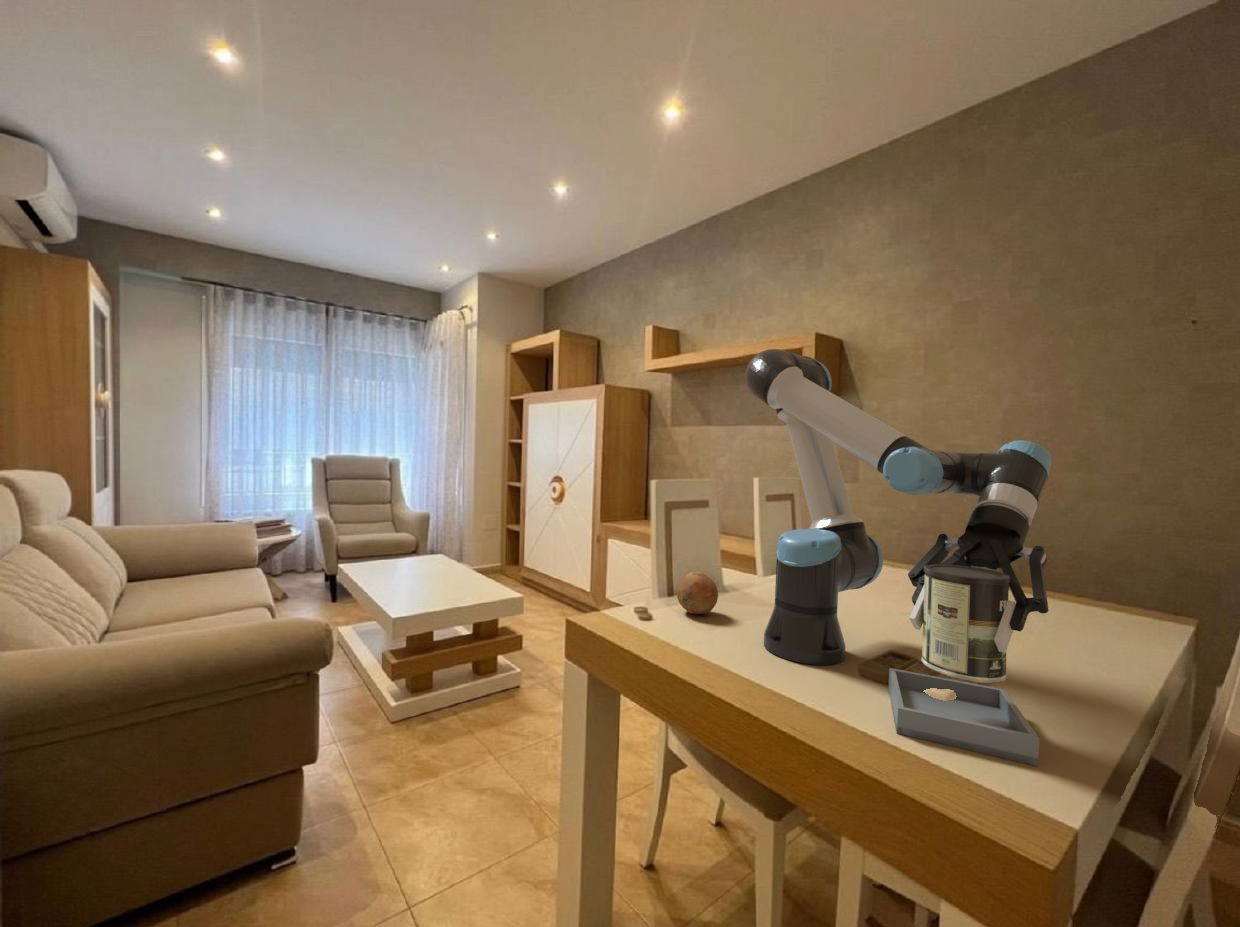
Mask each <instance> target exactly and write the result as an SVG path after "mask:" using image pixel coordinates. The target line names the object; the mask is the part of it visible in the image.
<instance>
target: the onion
mask: <svg viewBox="0 0 1240 927" xmlns="http://www.w3.org/2000/svg"><path fill="white" fill-rule="evenodd" d="M676 597H677V600H678V601H677V602H678V603H679V604H680V606H681V607H682V608H683V609H684V610H685V611H686V612H688V613H690V614H692V615H704V614H708V613H710V612H711V611H712V610H713V609H714V608H715V606H716V604H717V603H718V599H719V590H718V587H717V585H716V583H715V582H714V580H713V579H712V578H711V577H710V576H709V575H707V574H706V573H704V572H701V571H691V572H688V573H686V574H685V575H684V576H683V577H682V579H681V580H680V582H679V584H678V586H677V591H676Z"/></svg>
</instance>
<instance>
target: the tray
mask: <svg viewBox="0 0 1240 927" xmlns="http://www.w3.org/2000/svg"><path fill="white" fill-rule="evenodd" d="M930 688H937V689H950V690H954V692H955V693H956V696H957V697H956V699H954V700H948V701H943V700H939V699H936V698H933V697H931V696H929V695H928V694H926V693H925V692H923V691H924V690H926V689H930ZM887 689H888V694H889V699H890V705H891V711H892V715H893V716H892V717H893V721H894V726H895V731H896V734H898V735H902V736H906V737H910V738H916V739H920V740H923V741H928V742H932V743H936V744H941V745H946V746H950V747H953V748H959V749H962V750H966V751H971V752H974V753H979V754H985V755H987V756H992V757H998V758H1000V759H1005V760H1009V761H1013V762H1014V761H1015V762H1019V763H1022V764H1026V765H1030V766H1031V765H1032V766H1036V767H1038V766H1039V757H1040V756H1039V755H1040V738H1039V736H1038V734H1037V733H1036V732H1035V730H1034V729H1033V727H1032V726H1031V725H1030V723H1029V721H1028V720H1027V719H1026V717H1025V716H1024V714H1023V713H1022V712H1021V710H1020V709H1019V707H1018V706H1017V705H1016V704H1015V702H1014V701H1013V699H1012V698H1011V697H1010V696H1009V694H1008V692H1007V691H1006V689H1005V688H1000V687H994V686H989V685H983V684H979V683H973V682H969V681H967V682H966V681H962V680H956V679H951V678H947V677H946V678H945V677H940V676H935V675H930V674H929V675H928V674H924V673H918V672H913V671H908V670H903V669H897V668H892V667H889V670H888V688H887Z"/></svg>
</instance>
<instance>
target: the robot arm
mask: <svg viewBox="0 0 1240 927" xmlns="http://www.w3.org/2000/svg"><path fill="white" fill-rule="evenodd" d="M744 381H745V384H746V387H747V389H748V391H749V393H751V395H752V396H754V397H755V398H757V399H758V400H760V401H761V402H763V403H764V404H766V405H768V407H771V408H772V409H775V413H776V415H777V418H778V420H780V421H783V422H784V423H786V426H787V431H788V435H789V439H790V442H791V445H792V450H793V454H794V458H795V462H796V465H797V470H798V474H799V478H800V480H801V485H802V488H803V493H804V496H805V500H806V504H807V508H808V512H809V516H810V520H811V524H810V526H809V528H803V529H801V528H799V529H791V530H788V531H785V532H783V533H781V535H780V536H779V537H778V541H777V549H776V552H775V556H776V568H775V571H776V572H775V586H774V587H775V588H774V589H775V590H774V607H773V610H772V613H771V614H770V618H769V620H768V623H767V625H766V628H765V630H764V632H763V646H764V648H765V649H766V650H767V651H768V652H770V653H771V654H772V655H773V654H774V655H776V656H777V657H780V658H782V659H786V660H788V661H792V662H797V663H801V664H808V665H817V666H818V665H821V666H822V665H823V666H826V665H827V666H828V665H835V664H840V663H842V662H844V660H845V658H846V642H845V640H844V636H843V633H842V629H841V625H840V623H839V622H840V621H839V618H838V605H839V604H838V602H839V593H841V592H844V591H845V592H846V591H849V590H858V589H862V588H863V587H865V586H868V585H870V584H871V583H873V582H874V581H875V580H876V579H877V578H878V577H879V575H880V574H881V571H882V569H883V565H884V555H883V552H882V548H881V547H880V545H879V543H878V542H877V541H876V539H874V538H872V537H871V536H870V535H869V534H868V533H867V529H866V527H865V526H866V525H865V522H864V520H862V519H861V518H859V517H858V516H856V515H855V514H854V511H853V508H852V506H851V502H850V498H849V493H848V491H847V488H846V484H845V481H844V476H843V474H842V470H841V467H840V462H839V459H838V456H837V452H836V449H835V444H836V445H838V446H839V447H840V448H842V449H844V450H845V451H847V452H849V453H850V454H852V456H855V457H856V458H858V460H861V461H862V462H864V464H867V465H868V466H870V467H872V468H873V469H875V470H876V471H877V472H879V473H880V474H882V475H883V477H884V479H885V481H886V482H887V483H888V485H889V486H890V487H891V488H892V489H894V490H896V491H898V492H901V493H904V494H908V495H913V496H915V495H924V494H926V495H927V494H929V495H930V494H949V495H950V494H953V495H963V496H964V495H965V496H967V495H968V496H978V499H977V501H976V503H975V505H974V507H973V511H972V513H971V515H970V516H969V520H968V522H967V524H966V526H965V530H964V533H963V534H962V535H961V536H959V537H958V538H956V537H955V538H954V537H948V535H947V534H946V533H940V534H939V535H938V537H937V540H936V542H935V544H934V545H932V547H931V548H930V549H929V550H928V551H927V552H926V554H925V555H924V556H923V557H922V558H921V559H920V560H919V561H918V562H917V563H916V564H915V565H914V566H913V568H911V569H910V570H909V572H908V573H907V576H908V579H909V580H910V582H911V584H912V586H913V587H914V588H915V587H916V588H915V590H914V592H913V594H912V596H911V602H912V604H913V609H912V610H911V613H910V614H909V621H910V622H911V625H912V626H913V628H914V629H915V630H918V631H919V630H921V629H922V627H923V614H924V581H925V572H924V566H926V565H932V564H943V565H958V566H968V567H975V568H985V569H988V570H992V571H997V569H1000V571H1001V573H1003V574H1006V575H1008V576H1010V583H1009V590H1010V593H1011V595H1012V597H1013V599H1014V601H1013V600H1009V599H1008V602H1007V605H1006V607H1005V610H1004V613H1003V616H1002V619H1001V621H1000V624H999V627H998V630H997V633H996V635H995V638H994V641H995V643H996V646H997V648H998V650H999V652H1003V653H1006V654H1007V650H1008V647H1009V645H1010V641H1011V639H1012V636H1013V632H1014V631H1017V632H1022V631H1023V630H1024V628H1025V624H1026V622H1027V618H1028V616H1029V614H1030V613H1033V612H1038V613H1040V614H1047V613H1048V612H1049V604H1048V595H1047V589H1046V581H1045V576H1044V575H1045V574H1044V573H1045V572H1044V569H1045V566H1046V563H1047V562H1048V558H1047V554H1046V552H1045V548H1044V547H1043V546H1042V545H1034V546H1033V547H1032V548H1031V547H1025V546H1024V543H1025V541H1026V539H1027V536H1028V533H1029V531H1030V526H1031V525H1032V521H1033V518H1034V516H1035V514H1036V511H1037V508H1038V504H1039V501H1040V499H1041V496H1042V494H1043V491H1044V489H1045V487H1046V483H1048V481H1049V478H1050V477H1049V476H1050V475H1049V474H1050V469H1051V466H1052V462H1053V460H1052V459H1053V458H1052V456H1051V454H1050V452H1049V451H1048V450H1047V449H1046V448H1045V447H1043V446H1042V445H1041V444H1038V443H1036V442H1033V441H1029V440H1019V439H1018V440H1013V441H1010V442H1006V443H1005V444H1003V445H1002V446H1001V447H1000V448H999V450H998V451H997V452H995V453H992V452H985V453H982V452H980V453H976V452H975V453H972V452H954V451H953V452H952V451H944V450H938V449H937V450H936V449H935V450H934V449H930V448H928V447H926V446H925V445H923V444H921V443H919V442H918V441H916V440H913V439H912V438H910V437H908V436H907V435H905V434H903V433H901V432H900V431H898V430H896V429H895V428H894V427H892V426H890V425H888V424H886V423H885V422H883V421H881V420H879V419H877V418H876V417H874V416H872V415H871V414H869V413H867V412H865V411H864V410H861V408H859V407H856V406H855V405H854V404H851V403H850V402H848V401H846V400H844V399H843V398H841V397H839V396H837V395H836V394H834V393H833V392H831V390H832V384H833V382H832V376H831V373H830V372H829V370H828V368H827V367H826V366H825V365H824V364H823V363H822V362H820V361H818V360H817V359H815V358H813V357H811V356H806V355H799V354H797V353H794V352H793V353H792V352H790V351H787V350H784V349H779V348H771V349H770V348H769V349H765V350H763V351H761V352H758V353H757V354H756V355H755V356H754V357H752V358H751V359H750V361H749V363H748V364H747V367H746V369H745V372H744ZM834 443H835V444H834ZM955 548H957V549H956V550H954V549H955ZM953 551H954V552H953ZM949 553H953V554H952V555H951V556H950V557H948V555H949ZM947 557H948V558H947ZM1022 557H1024V558H1025V561H1026V562H1027V563H1028V564H1029V571H1030V579H1031V580H1030V581H1031V589H1032V596H1033V597H1027V595H1026V594H1025V592H1024V591H1023V588H1022V586H1021V583H1020V582H1019V579H1018V577H1017V575H1016V573H1015V571H1014V569H1013V567H1012V565H1011V563H1013V562H1016V561H1018V560H1019V559H1021V558H1022ZM946 558H947V559H946Z"/></svg>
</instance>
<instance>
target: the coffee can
mask: <svg viewBox="0 0 1240 927" xmlns="http://www.w3.org/2000/svg"><path fill="white" fill-rule="evenodd" d="M924 572H925V581H924V614H923V624H922V646H921V647H922V650H921V652H922V653H921V658H920V660H921V663H922V664H923V665H924V666H926V667H927V668H928V669H930V670H932V671H934V672H937V673H940V674H942V675H945V676H948V677H951V678H953V679H959V680H961V681H962V680H963V681H967V682H972V683H973V682H974V683H980V684H981V683H982V684H984V683H985V684H999V683H1002V682H1004V681H1006V680H1007V652H1006V653H1003V652H999V650H998V648H997V646H996V643H995V641H994V638H995V635H996V633H997V630H998V627H999V624H1000V621H1001V619H1002V616H1003V613H1004V610H1005V607H1006V605H1007V602H1008V600H1009V596H1010V595H1009V590H1010V588H1009V583H1010V576H1008V575H1006V574H1003V573H1002V572H999V571H997V570H993V569H988V568H982V567H975V566H971V567H968V566H958V565H943V564H941V563H940V564H932V565H926V566H924Z"/></svg>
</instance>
